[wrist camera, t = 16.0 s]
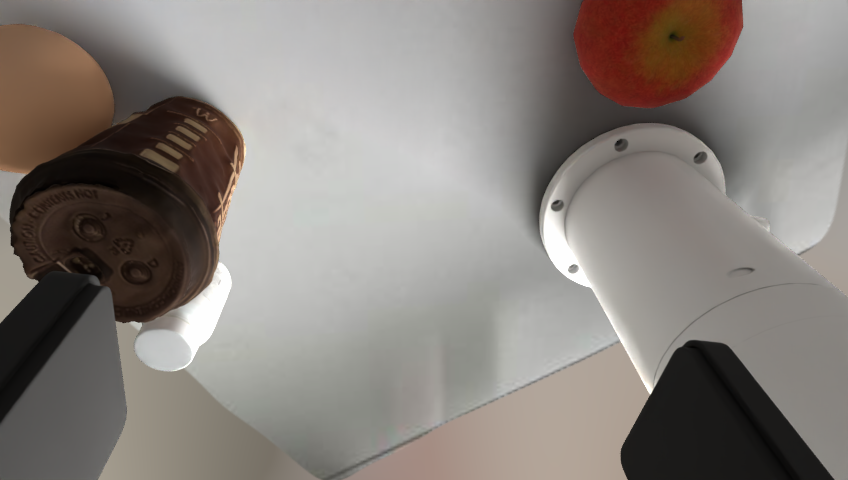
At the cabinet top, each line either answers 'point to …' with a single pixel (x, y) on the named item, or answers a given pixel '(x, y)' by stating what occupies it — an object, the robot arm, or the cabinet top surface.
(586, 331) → the cabinet top surface
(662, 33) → the apple
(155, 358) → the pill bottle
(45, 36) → the egg
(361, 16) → the cabinet top surface
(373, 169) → the cabinet top surface
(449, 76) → the cabinet top surface
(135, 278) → the coffee cup
